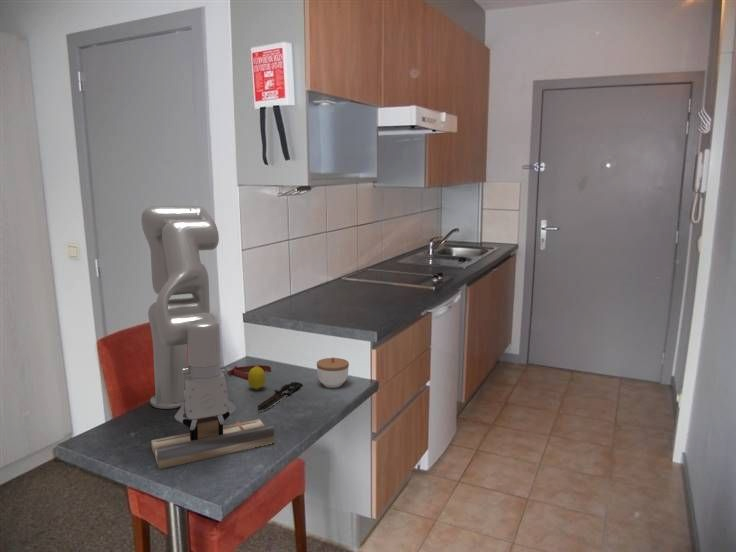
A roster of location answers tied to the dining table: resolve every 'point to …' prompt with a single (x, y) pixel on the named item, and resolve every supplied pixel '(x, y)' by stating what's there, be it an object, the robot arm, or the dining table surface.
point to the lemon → (256, 377)
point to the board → (209, 453)
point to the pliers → (243, 370)
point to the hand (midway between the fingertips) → (206, 439)
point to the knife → (279, 395)
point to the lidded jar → (332, 371)
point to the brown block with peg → (207, 427)
